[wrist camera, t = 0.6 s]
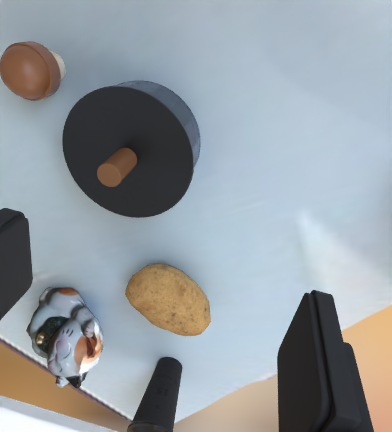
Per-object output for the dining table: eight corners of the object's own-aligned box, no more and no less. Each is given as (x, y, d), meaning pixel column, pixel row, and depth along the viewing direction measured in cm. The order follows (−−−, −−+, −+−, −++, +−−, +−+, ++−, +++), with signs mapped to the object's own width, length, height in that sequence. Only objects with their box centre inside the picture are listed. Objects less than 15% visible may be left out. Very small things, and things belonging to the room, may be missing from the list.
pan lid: (41, 123, 41) (7, 139, 36) (149, 56, 35) (128, 63, 30) (114, 228, 46) (95, 255, 41) (218, 186, 40) (210, 212, 35)
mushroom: (20, 55, 43) (-26, 62, 37) (54, 29, 41) (12, 32, 34) (50, 100, 45) (12, 114, 39) (84, 78, 43) (49, 89, 36)
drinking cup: (190, 380, 69) (163, 499, 52) (153, 375, 71) (115, 489, 54) (188, 354, 65) (159, 474, 48) (149, 349, 67) (107, 464, 50)
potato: (194, 319, 60) (184, 358, 54) (127, 274, 58) (108, 309, 51) (229, 289, 55) (223, 327, 49) (157, 238, 53) (140, 271, 46)
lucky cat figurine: (53, 272, 61) (51, 331, 50) (114, 290, 67) (125, 346, 56) (17, 333, 65) (7, 401, 53) (78, 345, 71) (81, 408, 59)
